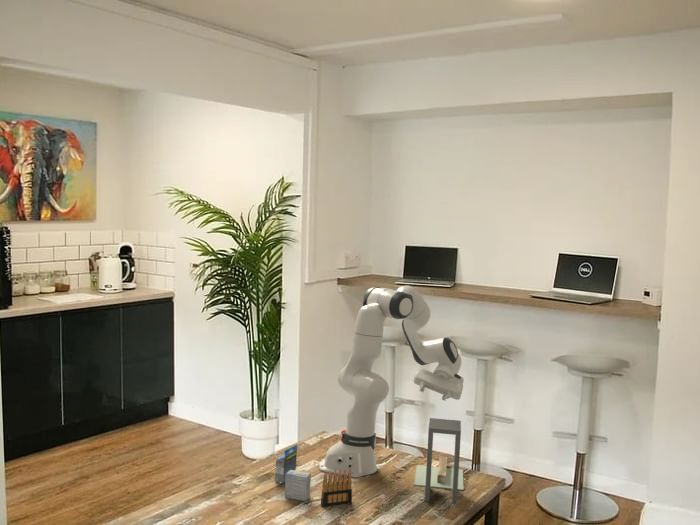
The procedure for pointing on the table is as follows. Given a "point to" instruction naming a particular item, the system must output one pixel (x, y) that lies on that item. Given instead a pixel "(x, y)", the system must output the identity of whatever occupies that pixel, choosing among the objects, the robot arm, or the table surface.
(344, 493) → the ammunition clip
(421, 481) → the mat
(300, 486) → the medicine box
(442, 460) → the beech bar
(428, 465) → the stand
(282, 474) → the label tape box
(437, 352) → the robot arm
